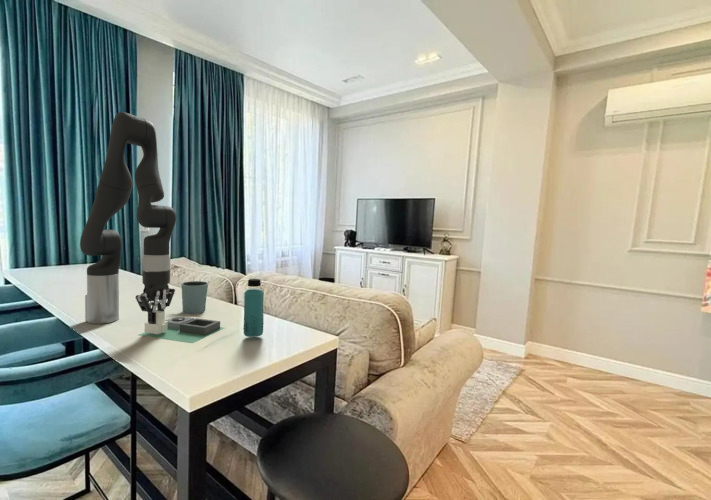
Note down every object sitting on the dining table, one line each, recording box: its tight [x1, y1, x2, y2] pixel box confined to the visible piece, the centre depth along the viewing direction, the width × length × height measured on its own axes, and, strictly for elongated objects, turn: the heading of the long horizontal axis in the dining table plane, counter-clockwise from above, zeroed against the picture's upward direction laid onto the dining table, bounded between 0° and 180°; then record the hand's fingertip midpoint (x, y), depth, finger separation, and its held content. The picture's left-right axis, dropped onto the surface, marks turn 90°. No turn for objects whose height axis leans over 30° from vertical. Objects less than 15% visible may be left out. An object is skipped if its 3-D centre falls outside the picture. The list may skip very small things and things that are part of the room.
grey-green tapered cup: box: [180, 280, 209, 315], centre depth 139 cm, size 10×10×12 cm
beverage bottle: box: [242, 278, 265, 338], centre depth 111 cm, size 6×7×20 cm
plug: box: [144, 309, 168, 334], centre depth 107 cm, size 6×4×6 cm
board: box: [138, 315, 225, 344], centre depth 110 cm, size 20×16×4 cm
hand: (156, 322), depth 107 cm, fingers closed on plug, 2 cm apart
